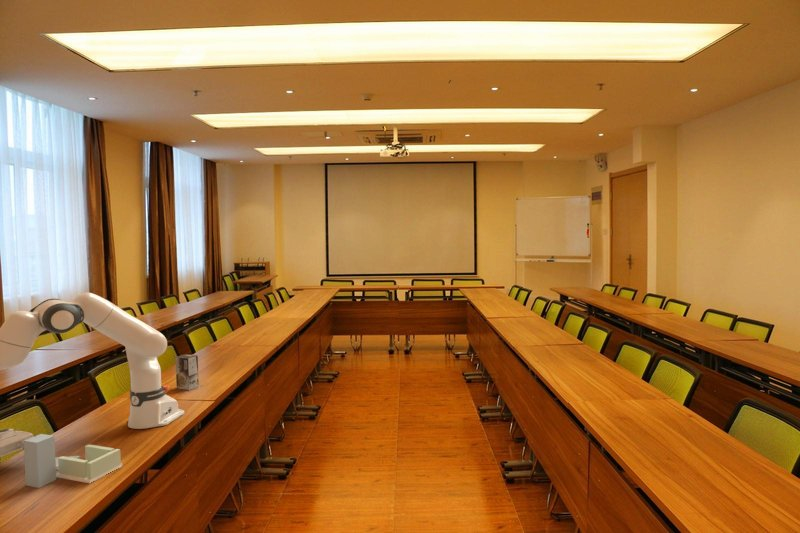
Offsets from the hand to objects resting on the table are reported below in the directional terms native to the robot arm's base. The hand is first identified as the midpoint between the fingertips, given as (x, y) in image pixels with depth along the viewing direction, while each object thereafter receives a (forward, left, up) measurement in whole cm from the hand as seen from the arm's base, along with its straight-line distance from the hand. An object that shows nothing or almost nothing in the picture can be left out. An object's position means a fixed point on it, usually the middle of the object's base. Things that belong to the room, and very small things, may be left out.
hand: (14, 452), depth 159 cm
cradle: (-10, +19, -8) cm, 23 cm away
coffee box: (-95, -16, -8) cm, 97 cm away
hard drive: (-10, +3, -9) cm, 14 cm away
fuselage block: (0, +11, -8) cm, 14 cm away
